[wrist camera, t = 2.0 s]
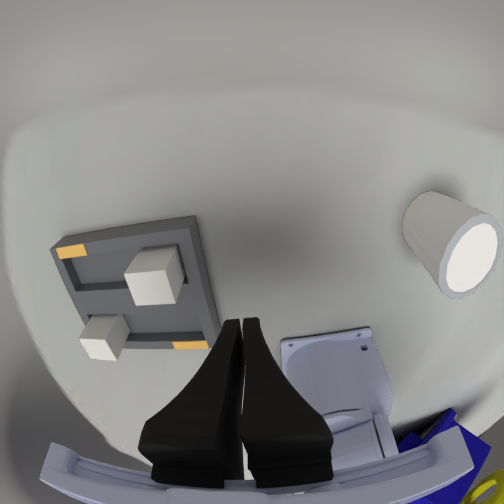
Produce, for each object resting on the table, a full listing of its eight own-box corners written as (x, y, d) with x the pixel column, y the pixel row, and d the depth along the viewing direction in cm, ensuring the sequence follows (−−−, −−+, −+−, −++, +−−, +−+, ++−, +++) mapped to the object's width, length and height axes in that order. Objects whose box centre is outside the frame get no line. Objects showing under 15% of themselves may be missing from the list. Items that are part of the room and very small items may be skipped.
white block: (120, 310, 23) (104, 339, 20) (130, 330, 25) (117, 360, 21) (95, 310, 24) (78, 338, 20) (105, 330, 25) (91, 358, 21)
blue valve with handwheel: (318, 500, 41) (399, 568, 18) (358, 458, 30) (478, 547, 7) (390, 441, 54) (461, 494, 31) (436, 377, 43) (530, 441, 20)
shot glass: (391, 259, 23) (428, 307, 17) (399, 183, 20) (450, 215, 13) (448, 252, 22) (489, 292, 16) (459, 184, 19) (511, 213, 13)
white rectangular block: (178, 241, 20) (165, 270, 17) (186, 271, 22) (175, 303, 18) (142, 246, 20) (123, 274, 17) (151, 275, 22) (136, 305, 18)
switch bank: (195, 215, 21) (188, 228, 19) (220, 329, 26) (218, 348, 24) (63, 237, 21) (49, 249, 19) (105, 331, 27) (97, 348, 24)
